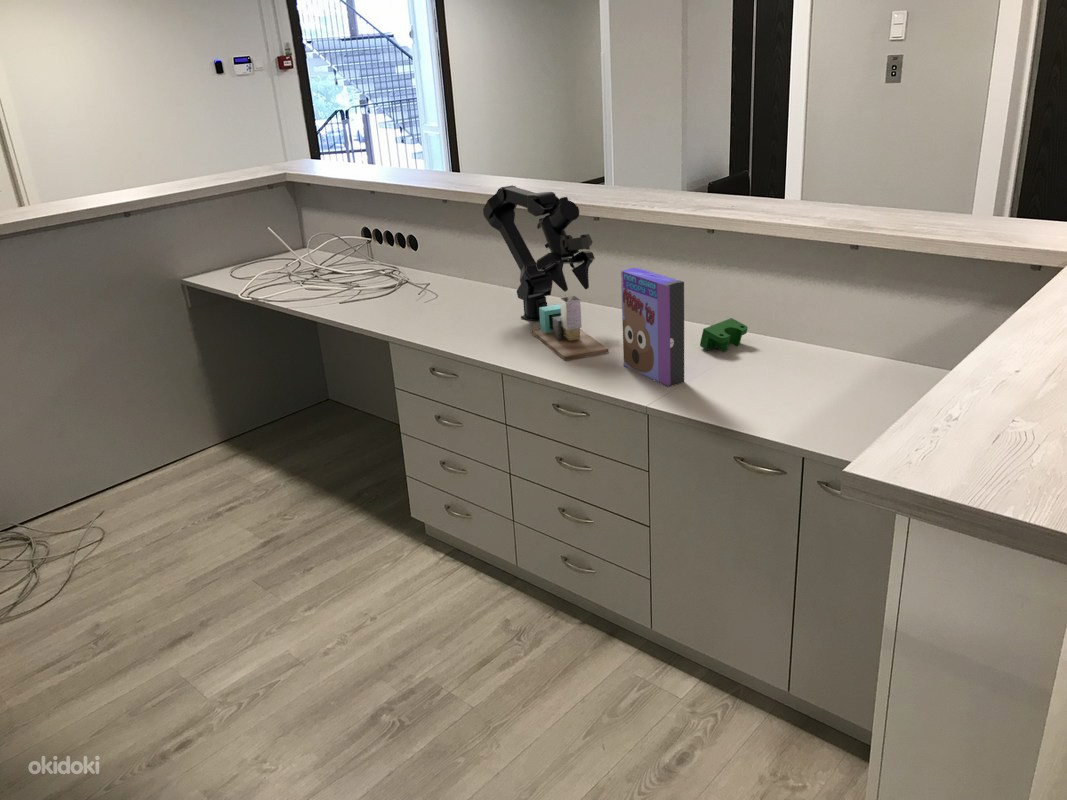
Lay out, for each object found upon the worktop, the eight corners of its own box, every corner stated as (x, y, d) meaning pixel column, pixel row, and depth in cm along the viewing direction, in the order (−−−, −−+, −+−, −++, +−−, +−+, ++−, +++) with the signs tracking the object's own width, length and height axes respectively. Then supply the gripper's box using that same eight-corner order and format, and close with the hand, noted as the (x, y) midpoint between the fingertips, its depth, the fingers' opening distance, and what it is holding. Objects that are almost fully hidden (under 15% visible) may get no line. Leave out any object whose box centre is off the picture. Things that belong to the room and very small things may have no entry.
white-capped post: (547, 325, 241) (544, 288, 237) (560, 322, 242) (558, 285, 238) (567, 341, 228) (565, 302, 224) (582, 338, 229) (580, 299, 225)
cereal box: (623, 366, 214) (620, 270, 205) (639, 361, 216) (637, 266, 207) (667, 387, 200) (666, 284, 191) (684, 382, 202) (684, 280, 193)
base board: (531, 332, 243) (531, 329, 242) (571, 325, 246) (571, 322, 246) (565, 360, 220) (564, 356, 220) (608, 352, 224) (608, 348, 224)
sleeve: (553, 336, 236) (552, 317, 233) (572, 333, 237) (571, 314, 235) (559, 340, 232) (557, 321, 230) (577, 337, 234) (576, 317, 231)
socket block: (540, 328, 242) (539, 307, 240) (564, 324, 244) (562, 303, 242) (545, 332, 239) (544, 311, 236) (569, 328, 241) (568, 307, 238)
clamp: (719, 368, 221) (717, 343, 214) (701, 357, 224) (698, 332, 218) (750, 340, 225) (749, 315, 218) (732, 330, 228) (730, 305, 222)
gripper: (555, 223, 223) (577, 279, 222) (598, 222, 237) (619, 275, 236) (526, 242, 231) (546, 297, 229) (569, 241, 245) (589, 292, 243)
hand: (576, 289), depth 234 cm, fingers open, 9 cm apart
